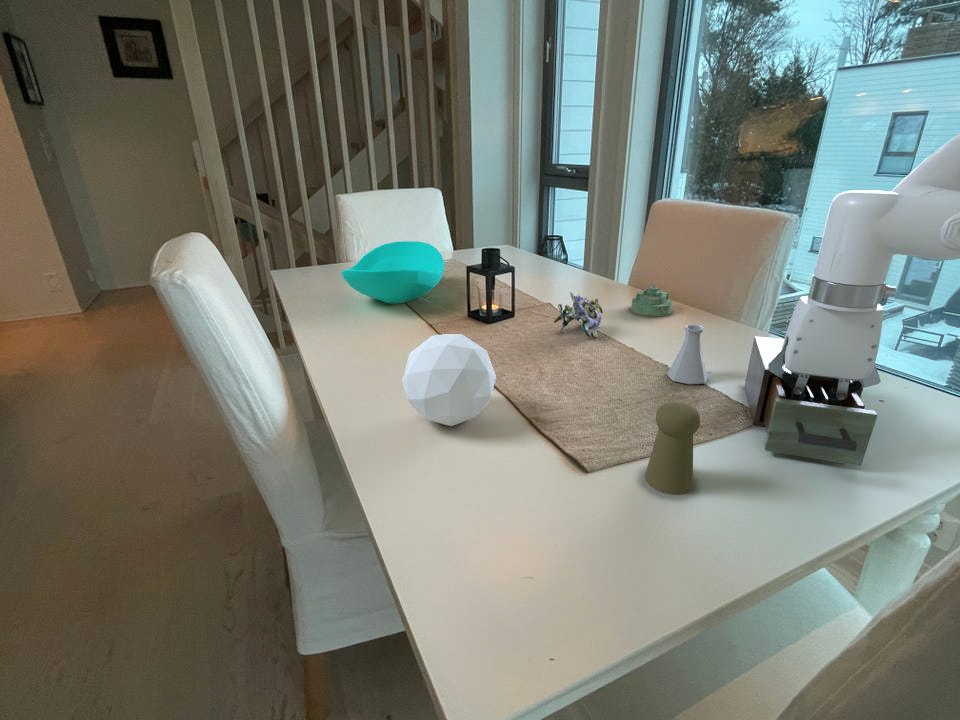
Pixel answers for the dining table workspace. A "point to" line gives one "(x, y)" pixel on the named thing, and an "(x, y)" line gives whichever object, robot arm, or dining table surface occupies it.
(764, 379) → the cabinet
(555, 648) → the dining table surface
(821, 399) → the binder clip
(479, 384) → the geometric sphere
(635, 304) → the decorative artifact
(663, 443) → the olive pawn
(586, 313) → the passion flower
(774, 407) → the drawer
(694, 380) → the flask
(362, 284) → the table top decor
